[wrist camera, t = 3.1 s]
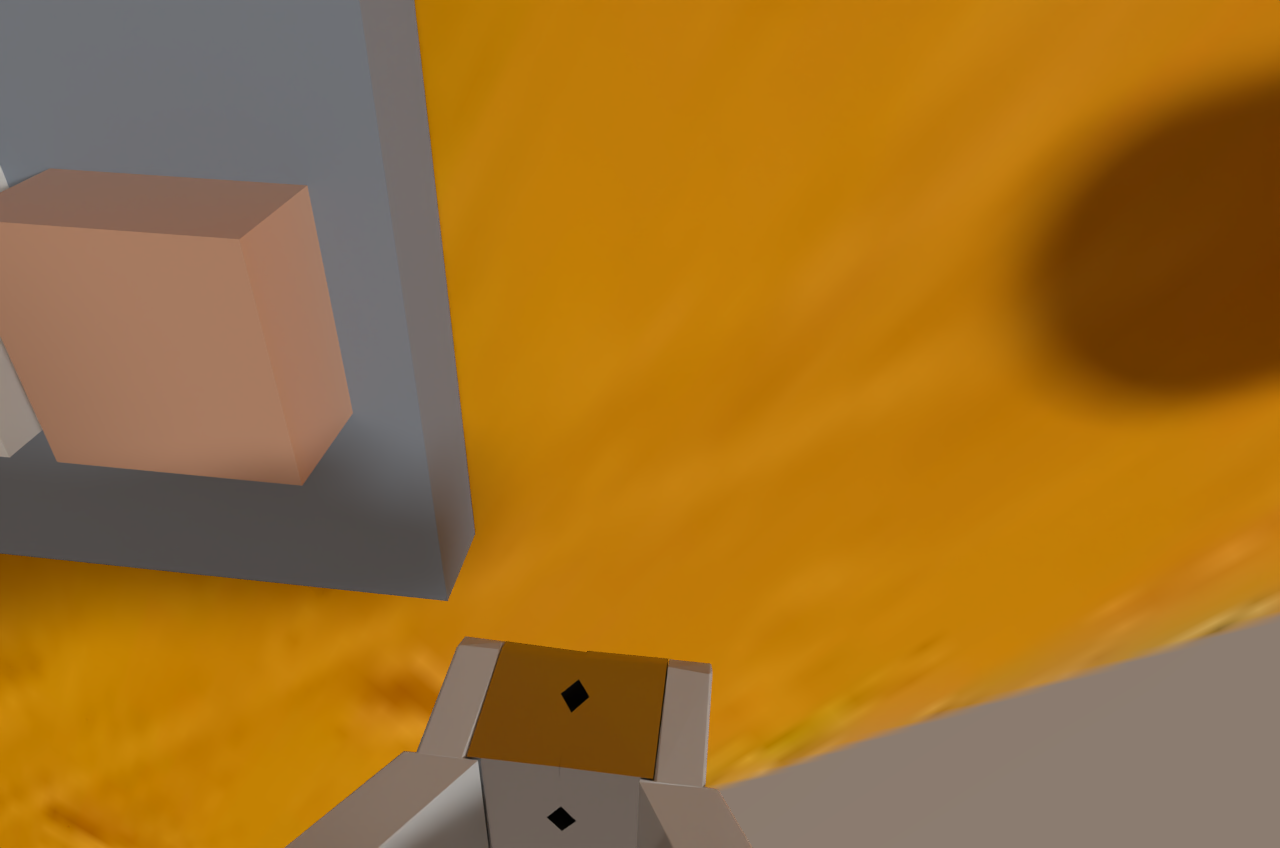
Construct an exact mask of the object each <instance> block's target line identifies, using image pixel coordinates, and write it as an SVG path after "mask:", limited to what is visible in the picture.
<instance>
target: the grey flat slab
mask: <svg viewBox="0 0 1280 848" xmlns="http://www.w3.org/2000/svg"><path fill="white" fill-rule="evenodd" d="M0 166H1V169H2V171H3V174H4V176H5V179H6V181H7V184H8V186H9V188H10V187H13V186H15V185H17V184H19V183H21V182H23V181H25V180H27V179H29V178H31V177H33V176H35V175H37V174H39V173H41V172H43V171H46V170H48V169H50V168H52V169H67V170H83V171H98V172H113V173H128V174H143V175H158V176H174V177H189V178H204V179H219V180H234V181H250V182H265V183H280V184H295V185H307V186H308V191H309V196H310V201H311V206H312V211H313V216H314V221H315V226H316V231H317V236H318V241H319V246H320V251H321V256H322V261H323V266H324V271H325V276H326V281H327V286H328V291H329V296H330V301H331V306H332V311H333V316H334V321H335V326H336V331H337V336H338V341H339V346H340V351H341V356H342V361H343V366H344V371H345V376H346V381H347V386H348V391H349V396H350V401H351V406H352V411H353V414H352V415H351V417H350V418H349V419H348V421H347V422H346V424H345V425H344V427H343V428H342V429H341V431H340V432H339V434H338V435H337V437H336V438H335V439H334V441H333V442H332V444H331V445H330V447H329V448H328V450H327V451H326V452H325V454H324V455H323V457H322V458H321V460H320V461H319V462H318V464H317V465H316V467H315V468H314V470H313V471H312V472H311V474H310V475H309V477H308V478H307V480H306V481H305V482H304V484H303V485H302V486H300V485H290V484H280V483H269V482H259V481H249V480H238V479H228V478H217V477H207V476H197V475H186V474H176V473H165V472H155V471H145V470H134V469H124V468H113V467H103V466H93V465H82V464H72V463H62V462H57V460H56V458H55V456H54V454H53V452H52V449H51V447H50V445H49V443H48V441H47V438H46V436H45V434H44V432H43V430H42V431H41V432H39V433H38V434H37V435H36V436H35V437H34V438H32V439H31V440H30V441H29V442H28V443H26V444H25V445H24V446H23V447H22V448H20V449H19V450H18V451H17V452H16V453H14V454H13V455H12V456H11V457H0V553H2V554H12V555H21V556H31V557H40V558H49V559H59V560H68V561H78V562H87V563H96V564H106V565H115V566H125V567H134V568H143V569H153V570H162V571H172V572H181V573H190V574H200V575H209V576H219V577H228V578H237V579H247V580H256V581H266V582H275V583H284V584H294V585H303V586H313V587H322V588H331V589H341V590H350V591H360V592H369V593H378V594H388V595H397V596H407V597H416V598H425V599H435V600H444V601H448V599H449V596H450V594H451V591H452V589H453V586H454V584H455V582H456V579H457V577H458V574H459V572H460V569H461V567H462V564H463V562H464V560H465V557H466V555H467V552H468V550H469V547H470V545H471V542H472V540H473V538H474V535H475V529H474V520H473V511H472V503H471V494H470V485H469V476H468V468H467V459H466V450H465V441H464V433H463V424H462V415H461V406H460V398H459V389H458V380H457V371H456V363H455V354H454V345H453V336H452V328H451V319H450V310H449V301H448V293H447V284H446V275H445V266H444V258H443V249H442V240H441V231H440V223H439V214H438V205H437V196H436V188H435V179H434V170H433V161H432V153H431V144H430V135H429V126H428V118H427V109H426V100H425V91H424V83H423V74H422V65H421V56H420V48H419V39H418V30H417V21H416V13H415V4H414V0H0Z"/></svg>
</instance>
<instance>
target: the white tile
mask: <svg viewBox="0 0 1280 848" xmlns="http://www.w3.org/2000/svg"><path fill="white" fill-rule="evenodd" d="M8 188H9V186H8V184H7V181H6V179H5V176H4V174H3V171H2V169H1V166H0V192H2V191H4V190H6V189H8ZM42 430H43V429H42V427H41V425H40V423H39V421H38V418H37V416H36V414H35V412H34V410H33V407H32V405H31V403H30V401H29V399H28V396H27V394H26V392H25V390H24V387H23V385H22V383H21V381H20V379H19V376H18V374H17V372H16V370H15V368H14V365H13V363H12V361H11V359H10V357H9V354H8V352H7V350H6V348H5V345H4V343H3V341H2V339H1V337H0V457H11V456H12V455H13V454H14V453H16V452H17V451H18V450H19V449H20V448H22V447H23V446H24V445H25V444H26V443H28V442H29V441H30V440H31V439H32V438H34V437H35V436H36V435H37V434H38V433H39V432H41V431H42Z"/></svg>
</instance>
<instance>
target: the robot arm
mask: <svg viewBox="0 0 1280 848" xmlns="http://www.w3.org/2000/svg"><path fill="white" fill-rule="evenodd" d="M711 684H712V666H711V664H708V663H699V662H689V661H680V660H671V659H670V660H669V665H668V659H667V658H657V657H646V656H636V655H625V654H615V653H605V652H594V651H587V652H582V651H574V650H567V649H560V648H552V647H545V646H537V645H530V644H523V643H515V642H508V641H506V642H505V641H497V640H489V639H481V638H473V637H464V639H463V640H462V641H461V643H460V644H459V645H458V647H457V648H456V651H455V654H454V656H453V659H452V661H451V664H450V667H449V669H448V672H447V674H446V677H445V680H444V682H443V685H442V687H441V690H440V693H439V695H438V698H437V700H436V703H435V706H434V708H433V711H432V713H431V716H430V718H429V721H428V724H427V726H426V729H425V731H424V734H423V737H422V739H421V742H420V744H419V747H418V750H417V752H408V751H404V752H402V753H401V754H400V755H399V756H397V757H396V758H395V759H394V760H393V761H391V762H390V763H389V764H388V765H386V766H385V767H384V768H383V769H381V770H380V771H379V772H378V773H376V774H375V775H374V776H373V777H371V778H370V779H369V780H368V781H367V782H365V783H364V784H363V785H362V786H360V787H359V788H358V789H357V790H355V791H354V792H353V793H352V794H350V795H349V796H348V797H347V798H346V799H344V800H343V801H342V802H341V803H339V804H338V805H337V806H336V807H334V808H333V809H332V810H331V811H329V812H328V813H327V814H326V815H324V816H323V817H322V818H321V819H320V820H318V821H317V822H316V823H315V824H313V825H312V826H311V827H310V828H308V829H307V830H306V831H305V832H303V833H302V834H301V835H300V836H298V837H297V838H296V839H295V840H294V841H292V842H291V843H290V844H289V845H287V846H286V847H285V848H752V846H751V844H750V843H749V841H748V839H747V838H746V836H745V834H744V832H743V831H742V829H741V827H740V826H739V824H738V822H737V821H736V819H735V817H734V815H733V814H732V812H731V810H730V809H729V807H728V805H727V803H726V802H725V800H724V798H723V797H722V795H721V794H720V792H719V790H718V789H714V788H707V787H705V782H706V766H707V750H708V733H709V717H710V701H711Z"/></svg>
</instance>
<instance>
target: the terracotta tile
mask: <svg viewBox="0 0 1280 848" xmlns="http://www.w3.org/2000/svg"><path fill="white" fill-rule="evenodd" d="M0 337H1V339H2V341H3V343H4V345H5V348H6V350H7V352H8V354H9V357H10V359H11V361H12V363H13V365H14V368H15V370H16V372H17V374H18V376H19V379H20V381H21V383H22V385H23V387H24V390H25V392H26V394H27V396H28V399H29V401H30V403H31V405H32V407H33V410H34V412H35V414H36V416H37V418H38V421H39V423H40V425H41V427H42V429H43V432H44V434H45V436H46V438H47V441H48V443H49V445H50V447H51V449H52V452H53V454H54V456H55V458H56V460H57V462H62V463H72V464H82V465H93V466H103V467H113V468H124V469H134V470H145V471H155V472H165V473H176V474H186V475H197V476H207V477H217V478H228V479H238V480H249V481H259V482H269V483H280V484H290V485H300V486H302V485H303V484H304V482H305V481H306V480H307V478H308V477H309V475H310V474H311V472H312V471H313V470H314V468H315V467H316V465H317V464H318V462H319V461H320V460H321V458H322V457H323V455H324V454H325V452H326V451H327V450H328V448H329V447H330V445H331V444H332V442H333V441H334V439H335V438H336V437H337V435H338V434H339V432H340V431H341V429H342V428H343V427H344V425H345V424H346V422H347V421H348V419H349V418H350V417H351V415H352V414H353V411H352V406H351V401H350V396H349V391H348V386H347V381H346V376H345V371H344V366H343V361H342V356H341V351H340V346H339V341H338V336H337V331H336V326H335V321H334V316H333V311H332V306H331V301H330V296H329V291H328V286H327V281H326V276H325V271H324V266H323V261H322V256H321V251H320V246H319V241H318V236H317V231H316V226H315V221H314V216H313V211H312V206H311V201H310V196H309V191H308V186H307V185H295V184H280V183H265V182H250V181H234V180H219V179H204V178H189V177H174V176H158V175H143V174H128V173H113V172H98V171H83V170H67V169H52V168H50V169H48V170H46V171H43V172H41V173H39V174H37V175H35V176H33V177H31V178H29V179H27V180H25V181H23V182H21V183H19V184H17V185H15V186H13V187H10V188H8V189H6V190H4V191H2V192H0Z"/></svg>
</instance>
